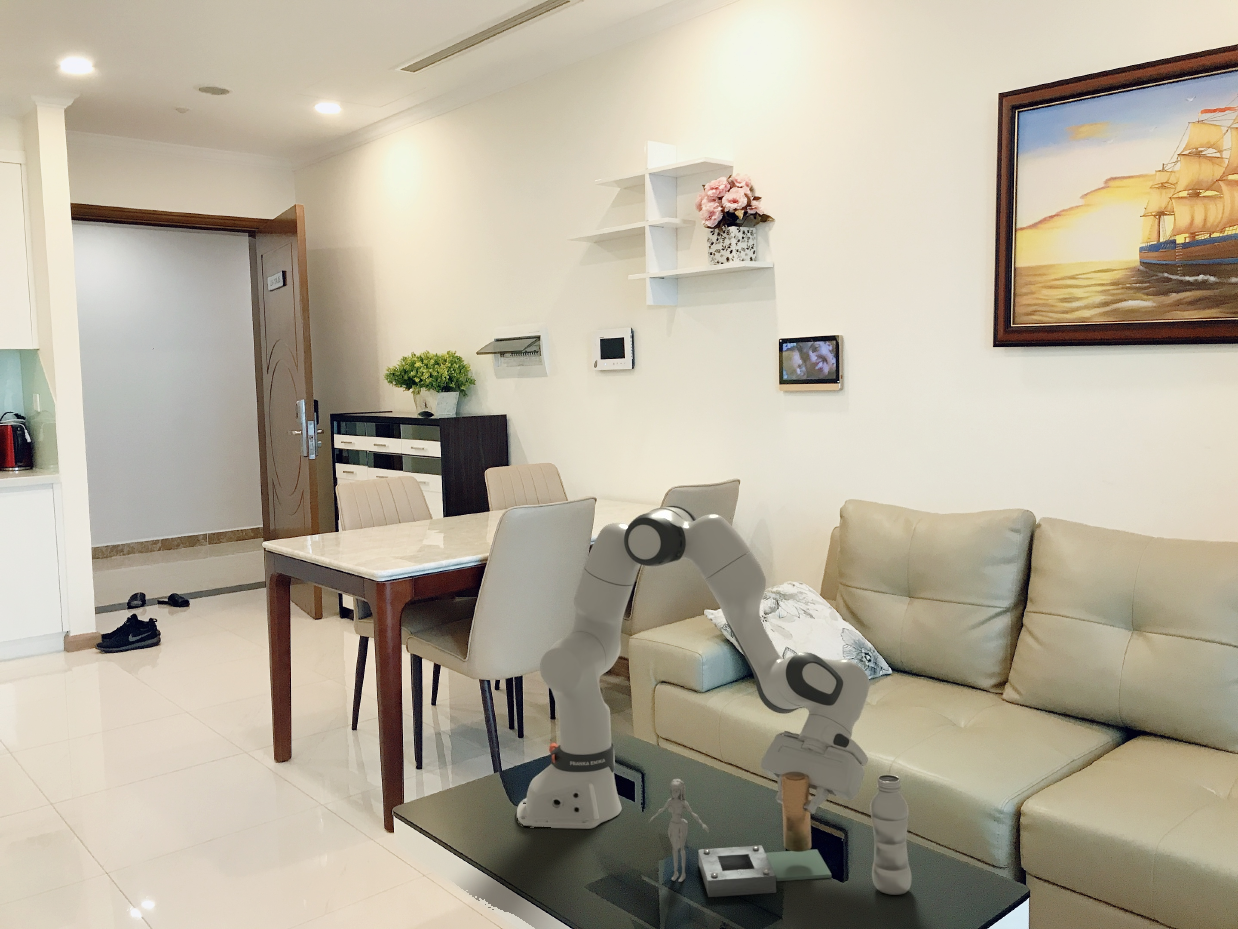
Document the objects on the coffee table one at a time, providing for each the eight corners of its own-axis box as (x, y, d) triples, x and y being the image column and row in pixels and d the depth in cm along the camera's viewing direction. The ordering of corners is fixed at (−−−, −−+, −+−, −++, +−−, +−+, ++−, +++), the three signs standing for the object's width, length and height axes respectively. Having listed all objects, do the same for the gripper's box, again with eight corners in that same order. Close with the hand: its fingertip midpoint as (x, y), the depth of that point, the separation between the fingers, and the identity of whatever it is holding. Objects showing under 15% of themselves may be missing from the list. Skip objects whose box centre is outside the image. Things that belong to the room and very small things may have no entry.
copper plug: (787, 852, 176) (784, 781, 175) (781, 840, 181) (778, 771, 180) (814, 850, 176) (811, 779, 175) (807, 838, 181) (805, 769, 180)
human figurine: (646, 875, 178) (642, 779, 177) (654, 866, 181) (651, 772, 180) (707, 887, 172) (703, 789, 171) (714, 878, 176) (711, 781, 175)
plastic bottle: (913, 901, 165) (910, 786, 164) (872, 898, 166) (869, 785, 165) (910, 882, 171) (907, 772, 170) (870, 880, 172) (867, 770, 171)
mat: (776, 881, 173) (776, 878, 173) (765, 855, 183) (765, 852, 183) (831, 877, 174) (831, 874, 174) (817, 852, 184) (817, 849, 184)
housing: (708, 897, 169) (707, 878, 169) (698, 865, 181) (698, 847, 181) (776, 892, 169) (775, 873, 169) (762, 861, 181) (761, 843, 181)
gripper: (772, 721, 190) (742, 784, 184) (862, 743, 175) (832, 813, 169) (786, 737, 193) (757, 800, 187) (876, 761, 178) (848, 830, 172)
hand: (794, 806), depth 178 cm, fingers closed on copper plug, 5 cm apart
